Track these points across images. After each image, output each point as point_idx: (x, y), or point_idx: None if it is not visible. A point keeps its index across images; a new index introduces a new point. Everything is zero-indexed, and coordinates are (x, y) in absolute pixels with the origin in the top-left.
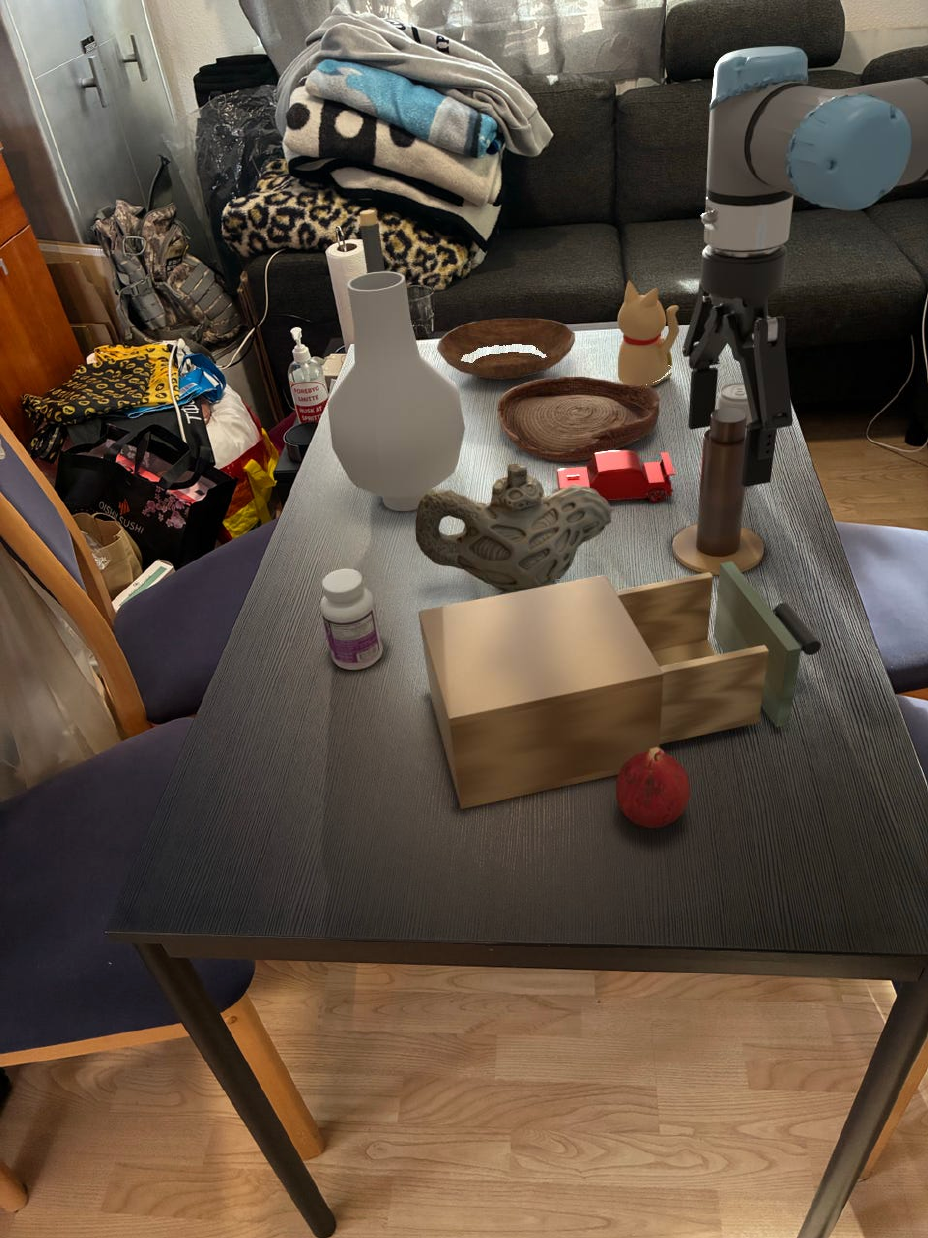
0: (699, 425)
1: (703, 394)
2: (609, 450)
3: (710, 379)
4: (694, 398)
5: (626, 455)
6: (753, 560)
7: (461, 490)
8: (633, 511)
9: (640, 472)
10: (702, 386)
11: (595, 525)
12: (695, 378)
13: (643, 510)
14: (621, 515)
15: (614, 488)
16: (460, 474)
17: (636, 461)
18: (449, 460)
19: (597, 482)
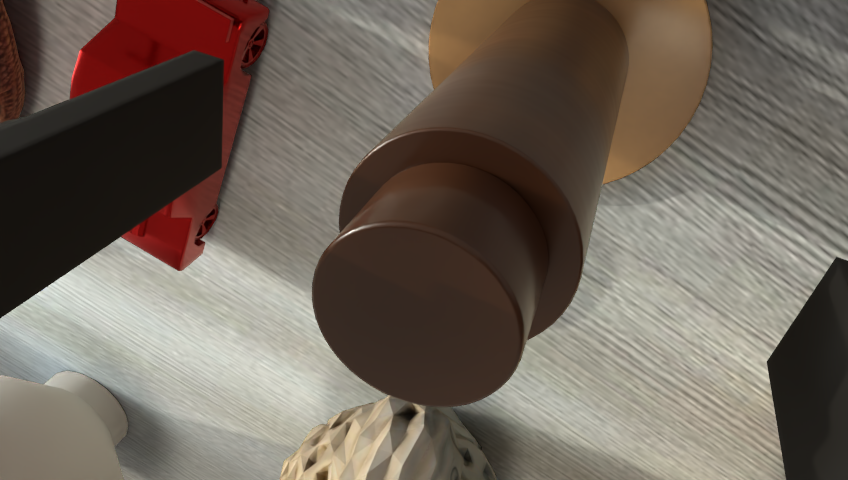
0: (213, 134)
1: (98, 194)
2: (10, 26)
3: (21, 201)
4: (113, 231)
5: None
6: (701, 28)
7: (84, 333)
8: (281, 117)
9: None
10: (59, 227)
11: (456, 475)
12: (15, 298)
13: (287, 93)
14: (286, 153)
15: None
16: (27, 301)
17: None
18: (69, 473)
19: (188, 208)
